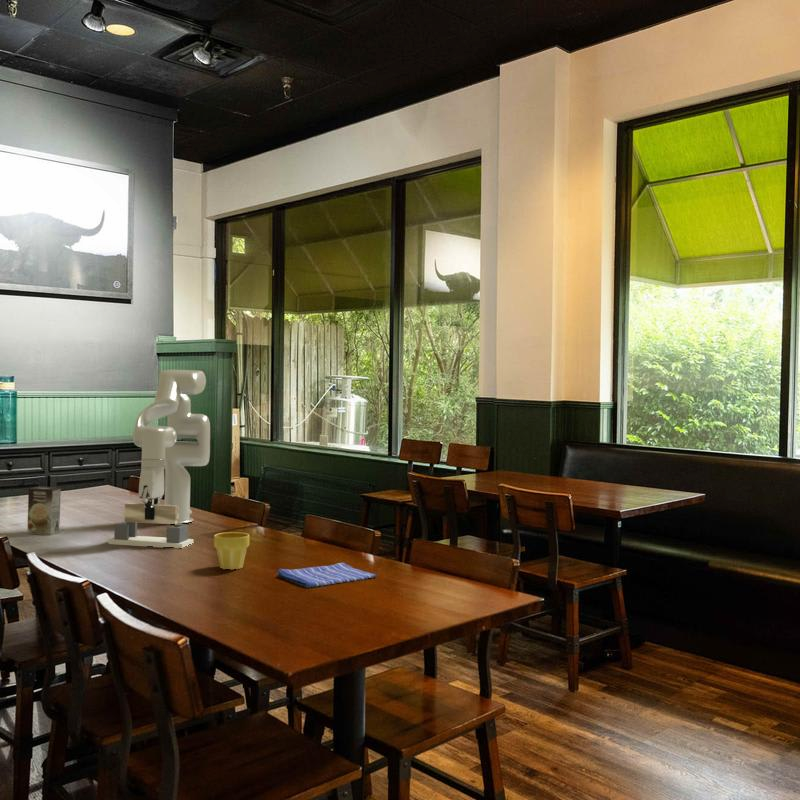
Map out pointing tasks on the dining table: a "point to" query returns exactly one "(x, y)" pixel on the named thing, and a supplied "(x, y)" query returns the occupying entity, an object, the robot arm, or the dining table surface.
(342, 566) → the dish towel
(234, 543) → the plant pot
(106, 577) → the dining table surface
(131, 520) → the slat
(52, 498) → the coffee box
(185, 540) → the end cap board
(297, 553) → the dining table surface
